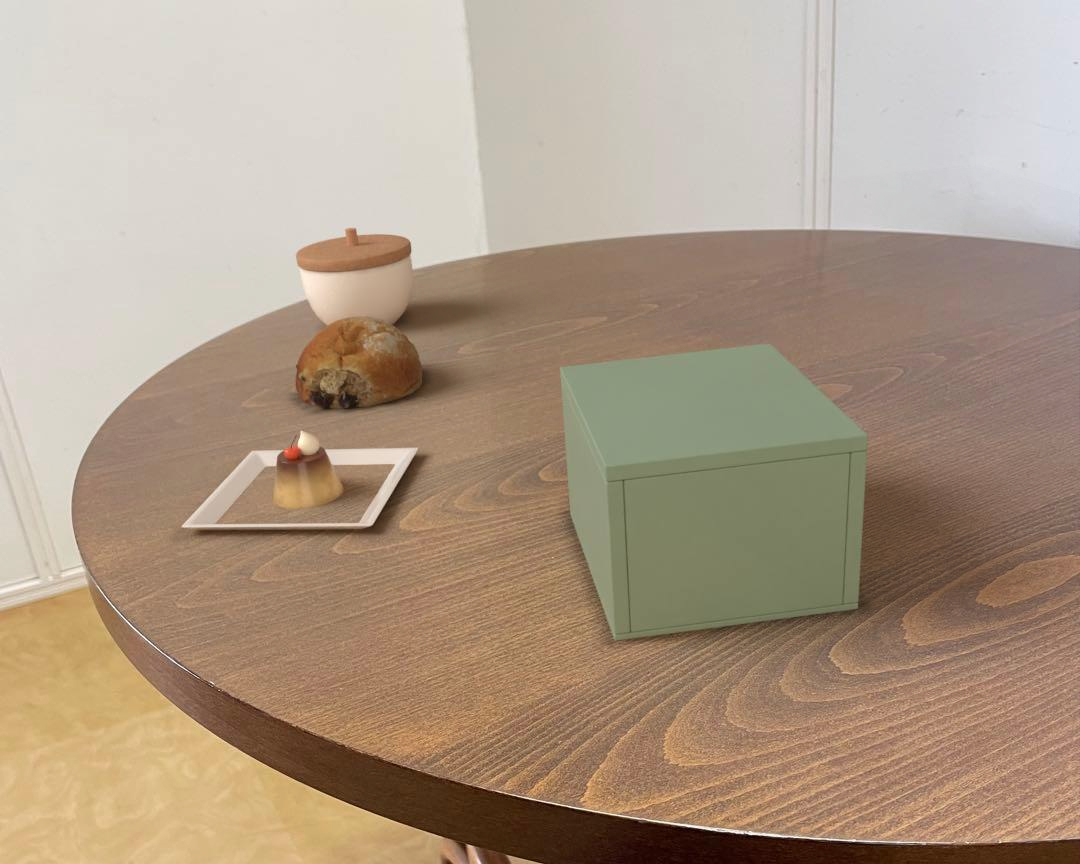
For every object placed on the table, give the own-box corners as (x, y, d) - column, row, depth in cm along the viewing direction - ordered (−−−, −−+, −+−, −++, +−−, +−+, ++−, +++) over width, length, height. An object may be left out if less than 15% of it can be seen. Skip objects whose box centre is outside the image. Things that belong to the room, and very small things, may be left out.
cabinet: (570, 520, 67) (559, 366, 63) (768, 496, 68) (770, 342, 64) (615, 649, 54) (604, 466, 50) (858, 617, 55) (868, 434, 51)
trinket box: (415, 339, 104) (401, 236, 100) (300, 348, 104) (281, 246, 100) (425, 308, 113) (413, 213, 109) (319, 316, 114) (303, 222, 110)
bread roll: (437, 436, 91) (459, 338, 90) (334, 419, 84) (357, 313, 83) (364, 411, 98) (384, 320, 97) (263, 394, 90) (283, 295, 89)
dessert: (184, 543, 69) (166, 471, 66) (255, 465, 79) (241, 400, 77) (374, 542, 67) (362, 468, 65) (420, 462, 77) (412, 396, 75)
